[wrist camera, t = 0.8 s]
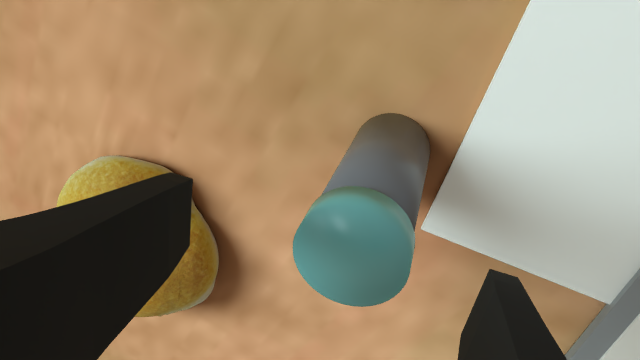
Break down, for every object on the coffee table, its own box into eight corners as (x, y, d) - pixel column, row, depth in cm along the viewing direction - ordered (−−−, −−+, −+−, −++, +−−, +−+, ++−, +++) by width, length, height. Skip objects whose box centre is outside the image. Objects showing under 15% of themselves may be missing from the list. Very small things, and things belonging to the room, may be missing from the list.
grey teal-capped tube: (445, 128, 20) (429, 235, 13) (415, 196, 21) (386, 323, 15) (366, 98, 20) (309, 187, 13) (342, 168, 22) (280, 278, 15)
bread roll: (158, 126, 24) (105, 159, 20) (249, 272, 26) (215, 323, 23) (52, 178, 27) (-8, 213, 24) (141, 302, 30) (98, 351, 26)
